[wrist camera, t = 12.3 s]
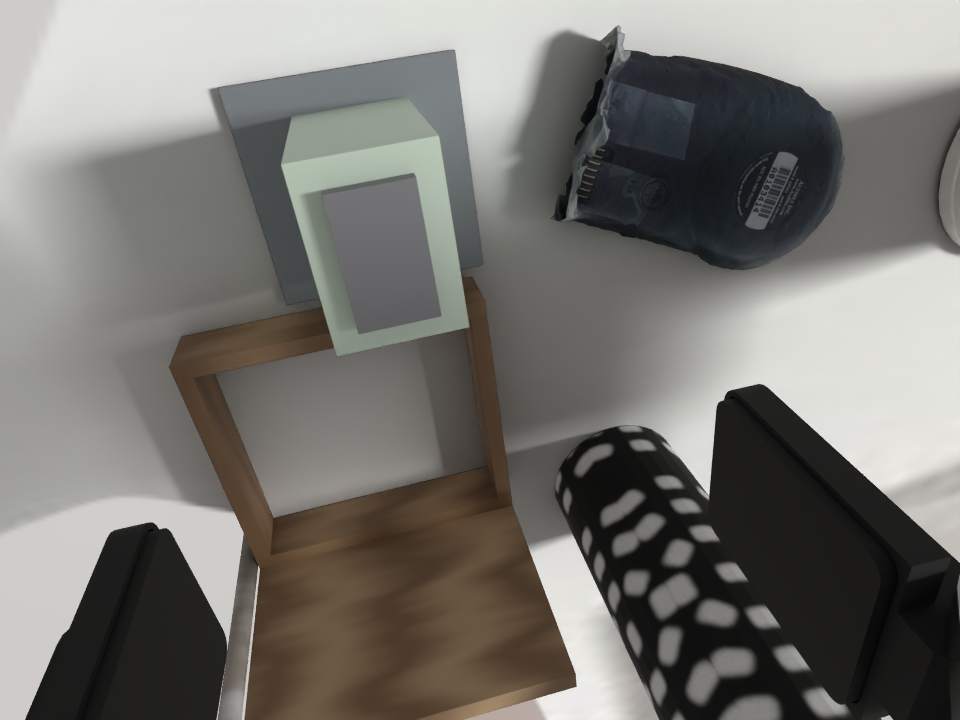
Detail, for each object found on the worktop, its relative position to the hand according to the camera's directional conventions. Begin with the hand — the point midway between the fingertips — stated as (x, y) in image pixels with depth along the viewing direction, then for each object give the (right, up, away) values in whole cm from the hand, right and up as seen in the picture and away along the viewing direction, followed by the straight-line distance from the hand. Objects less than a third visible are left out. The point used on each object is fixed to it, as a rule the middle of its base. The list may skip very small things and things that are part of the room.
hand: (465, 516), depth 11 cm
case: (-6, 0, +25) cm, 26 cm away
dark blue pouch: (+11, +13, +22) cm, 28 cm away
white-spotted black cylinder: (+9, -5, +32) cm, 34 cm away
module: (-5, +11, +18) cm, 22 cm away
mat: (-5, +11, +19) cm, 22 cm away
